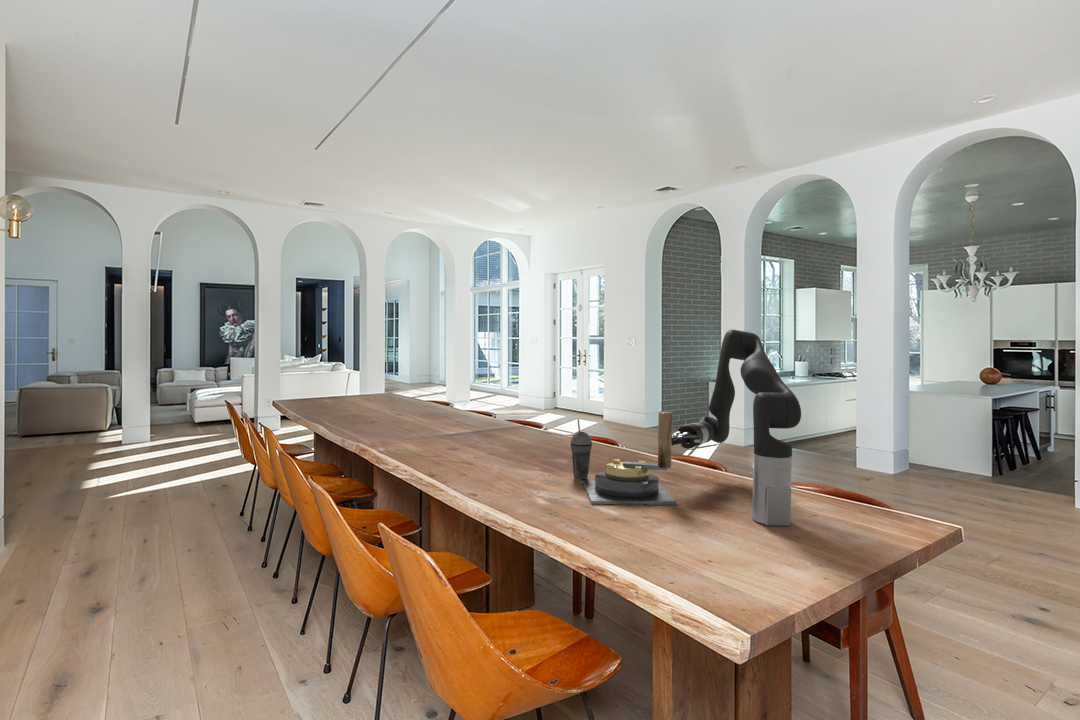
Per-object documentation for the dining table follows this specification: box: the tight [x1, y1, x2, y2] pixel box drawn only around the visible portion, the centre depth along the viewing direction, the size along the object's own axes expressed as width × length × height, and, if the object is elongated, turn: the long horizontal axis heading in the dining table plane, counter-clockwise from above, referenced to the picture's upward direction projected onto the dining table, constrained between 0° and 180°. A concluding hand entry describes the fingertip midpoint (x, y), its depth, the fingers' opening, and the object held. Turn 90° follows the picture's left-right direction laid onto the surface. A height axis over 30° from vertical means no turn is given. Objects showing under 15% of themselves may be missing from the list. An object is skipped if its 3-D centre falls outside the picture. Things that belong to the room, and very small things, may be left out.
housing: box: [582, 470, 677, 506], centre depth 178 cm, size 24×24×5 cm
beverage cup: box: [570, 418, 593, 481], centre depth 196 cm, size 7×7×20 cm
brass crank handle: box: [604, 411, 673, 482], centre depth 176 cm, size 20×13×20 cm, turn 73°
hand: (668, 442), depth 175 cm, fingers closed
